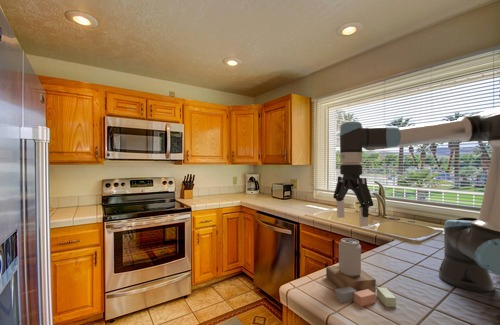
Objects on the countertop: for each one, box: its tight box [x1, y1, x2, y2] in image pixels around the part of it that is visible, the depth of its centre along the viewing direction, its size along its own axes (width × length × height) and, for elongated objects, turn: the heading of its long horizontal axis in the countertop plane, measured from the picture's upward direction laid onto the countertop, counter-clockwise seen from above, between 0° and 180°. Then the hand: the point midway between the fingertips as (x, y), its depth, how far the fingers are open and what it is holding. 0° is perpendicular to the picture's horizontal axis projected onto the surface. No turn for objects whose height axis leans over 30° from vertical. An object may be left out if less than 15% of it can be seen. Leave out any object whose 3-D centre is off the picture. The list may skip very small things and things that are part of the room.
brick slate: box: [334, 286, 357, 304], centre depth 76 cm, size 6×3×3 cm, turn 109°
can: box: [338, 237, 362, 277], centre depth 86 cm, size 8×8×12 cm
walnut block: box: [325, 265, 377, 292], centre depth 86 cm, size 12×12×4 cm
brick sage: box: [376, 286, 397, 308], centre depth 75 cm, size 6×3×3 cm, turn 176°
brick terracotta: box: [353, 289, 377, 307], centre depth 74 cm, size 6×3×3 cm, turn 111°
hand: (351, 221), depth 86 cm, fingers open, 13 cm apart
